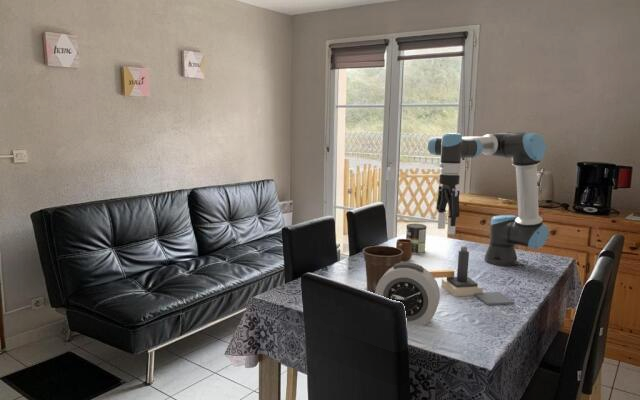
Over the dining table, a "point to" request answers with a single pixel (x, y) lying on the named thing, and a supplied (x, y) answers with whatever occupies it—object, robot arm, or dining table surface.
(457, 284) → the plug
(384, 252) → the plant pot
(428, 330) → the dining table surface
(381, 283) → the alarm clock
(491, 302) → the mat
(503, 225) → the robot arm
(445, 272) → the orange lever handle
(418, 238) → the coffee can
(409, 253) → the mug
